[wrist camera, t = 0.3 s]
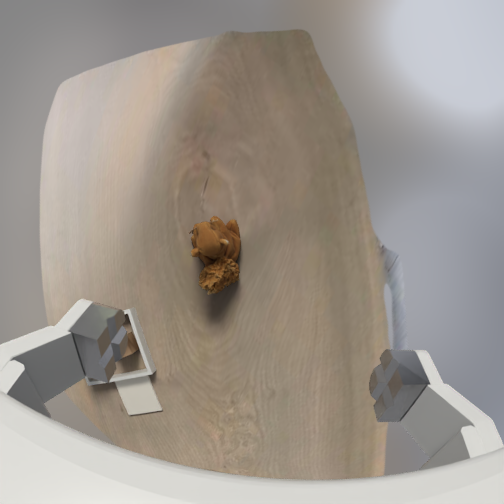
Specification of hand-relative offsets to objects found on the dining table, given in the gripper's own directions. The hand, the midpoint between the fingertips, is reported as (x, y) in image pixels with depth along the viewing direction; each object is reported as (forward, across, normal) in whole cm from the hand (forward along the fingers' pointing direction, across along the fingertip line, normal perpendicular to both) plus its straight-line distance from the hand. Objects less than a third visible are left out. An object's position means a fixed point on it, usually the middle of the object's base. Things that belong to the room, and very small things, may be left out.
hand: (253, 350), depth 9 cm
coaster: (+32, -22, -52) cm, 65 cm away
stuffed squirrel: (+49, -8, -22) cm, 54 cm away
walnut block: (+38, -25, -41) cm, 61 cm away
